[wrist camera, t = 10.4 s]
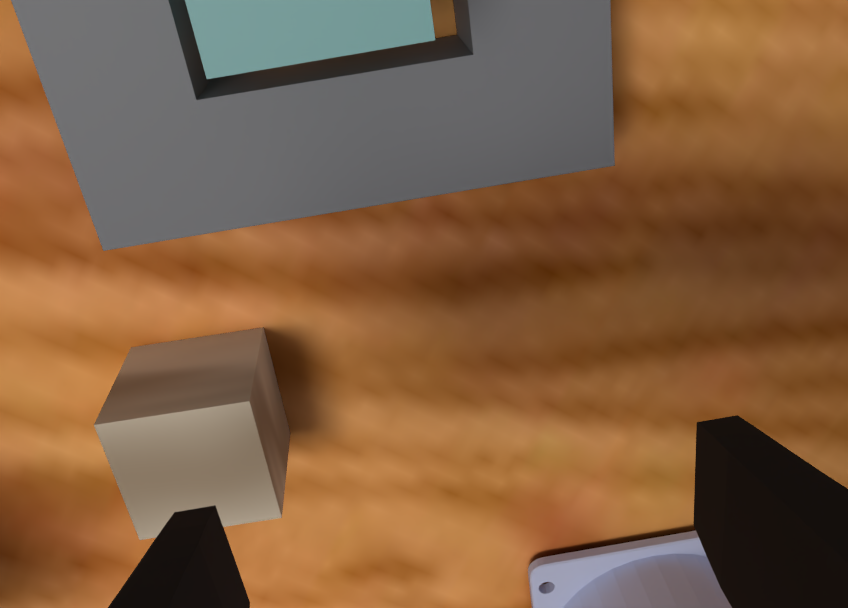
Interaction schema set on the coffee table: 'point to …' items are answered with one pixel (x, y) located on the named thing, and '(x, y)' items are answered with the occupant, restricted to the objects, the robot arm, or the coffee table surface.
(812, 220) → the coffee table surface
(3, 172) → the coffee table surface
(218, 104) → the hole board
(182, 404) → the beige cube
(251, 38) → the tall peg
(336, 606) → the coffee table surface
